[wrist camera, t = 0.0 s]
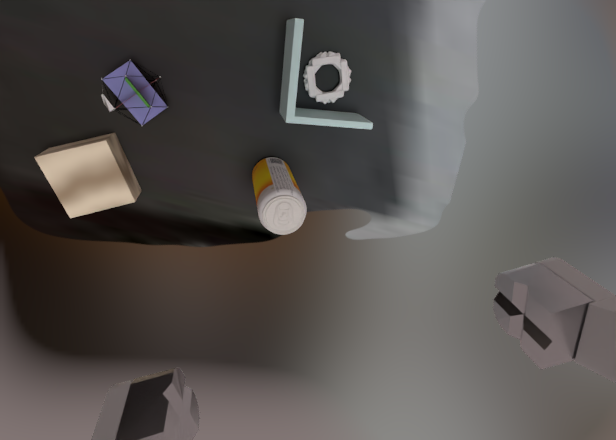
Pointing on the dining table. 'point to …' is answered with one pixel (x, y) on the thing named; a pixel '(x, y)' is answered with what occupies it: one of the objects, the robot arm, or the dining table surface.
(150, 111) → the geometric puzzle
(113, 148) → the oak base block
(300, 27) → the right angle wall
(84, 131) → the dining table surface
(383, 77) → the dining table surface
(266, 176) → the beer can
